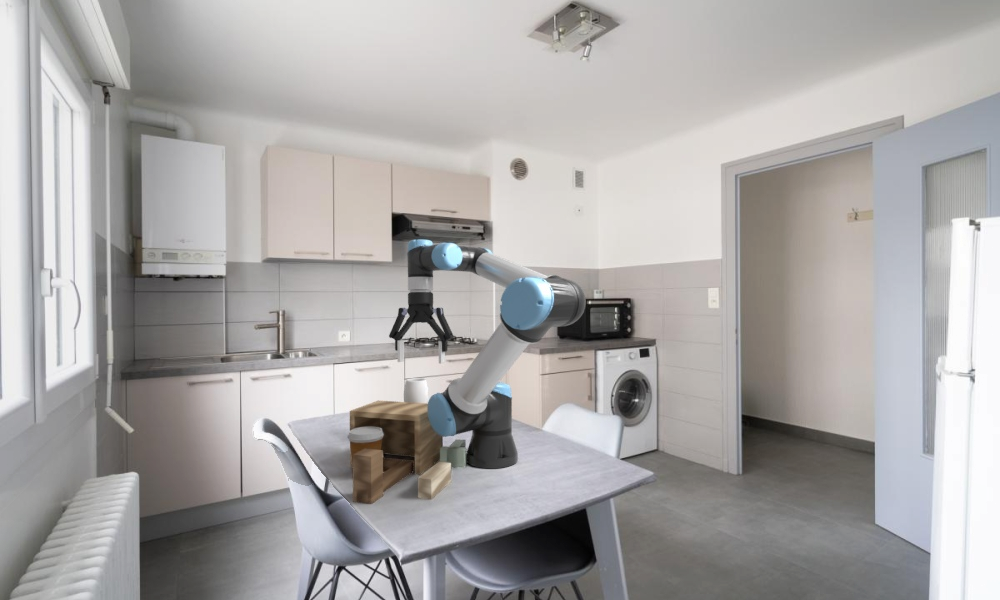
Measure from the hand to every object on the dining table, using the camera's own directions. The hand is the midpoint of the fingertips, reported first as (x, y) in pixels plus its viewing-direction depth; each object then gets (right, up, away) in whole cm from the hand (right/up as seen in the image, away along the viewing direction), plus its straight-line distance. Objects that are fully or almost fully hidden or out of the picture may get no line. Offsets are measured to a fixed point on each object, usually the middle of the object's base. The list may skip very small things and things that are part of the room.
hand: (421, 362), depth 145 cm
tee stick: (+11, -29, -3) cm, 31 cm away
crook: (-10, -29, -20) cm, 36 cm away
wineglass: (-4, -29, +16) cm, 33 cm away
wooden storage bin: (-6, -29, -4) cm, 30 cm away
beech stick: (+8, -29, -24) cm, 38 cm away
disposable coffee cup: (-13, -29, -14) cm, 34 cm away
